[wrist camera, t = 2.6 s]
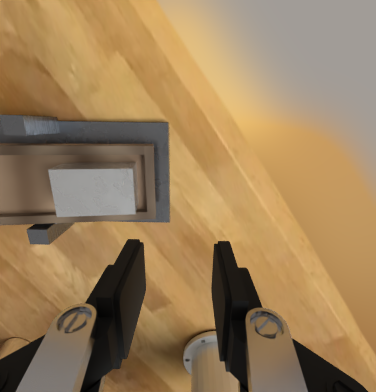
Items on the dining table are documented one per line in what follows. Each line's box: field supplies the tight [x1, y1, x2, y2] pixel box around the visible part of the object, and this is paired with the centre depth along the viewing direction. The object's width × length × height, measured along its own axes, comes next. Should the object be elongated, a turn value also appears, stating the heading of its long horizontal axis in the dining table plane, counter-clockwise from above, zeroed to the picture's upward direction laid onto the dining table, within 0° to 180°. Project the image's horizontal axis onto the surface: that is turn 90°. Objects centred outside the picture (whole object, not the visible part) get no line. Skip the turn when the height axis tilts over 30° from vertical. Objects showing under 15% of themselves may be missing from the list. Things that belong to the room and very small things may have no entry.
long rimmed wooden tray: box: [0, 143, 156, 225], centre depth 26 cm, size 28×9×2 cm, turn 89°
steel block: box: [48, 162, 139, 217], centre depth 24 cm, size 8×5×4 cm, turn 89°
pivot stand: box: [0, 115, 170, 244], centre depth 28 cm, size 31×15×7 cm, turn 89°
